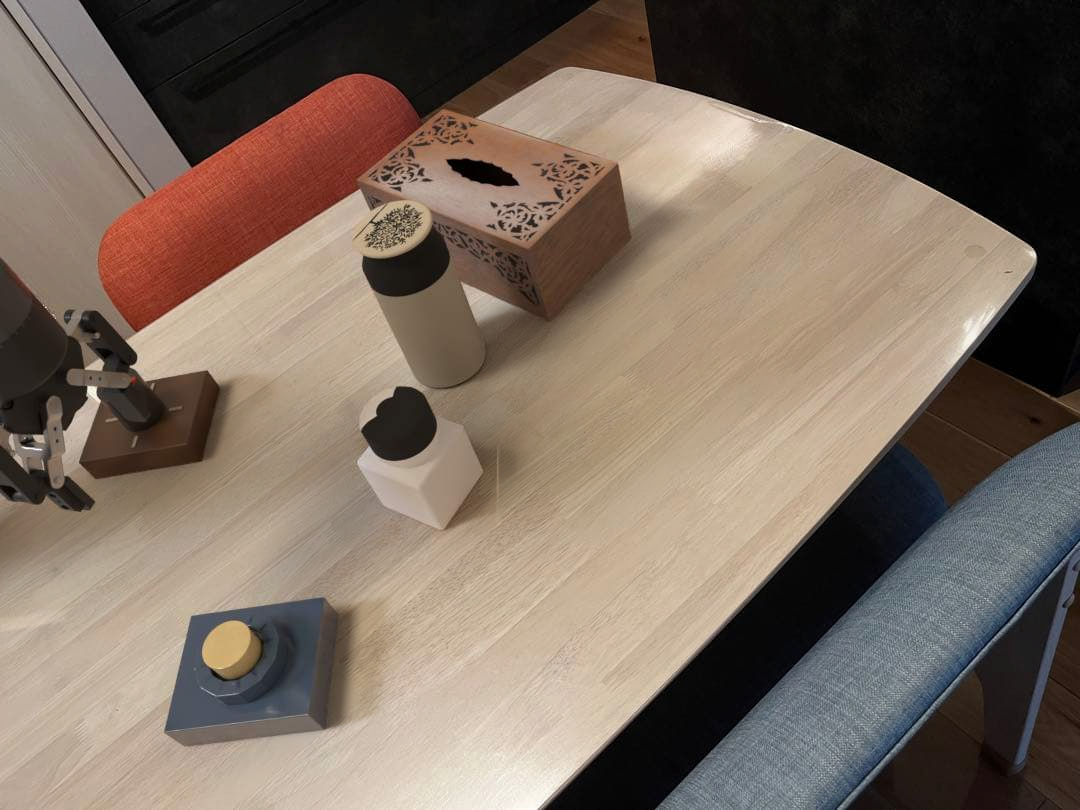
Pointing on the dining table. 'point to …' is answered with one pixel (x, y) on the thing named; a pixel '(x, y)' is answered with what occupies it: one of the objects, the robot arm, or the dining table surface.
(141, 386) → the dial
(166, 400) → the dial panel
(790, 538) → the dining table surface
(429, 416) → the medicine bottle
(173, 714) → the button housing
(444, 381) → the travel mug
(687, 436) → the dining table surface
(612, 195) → the tissue box cover
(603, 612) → the dining table surface
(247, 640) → the tan button cap
